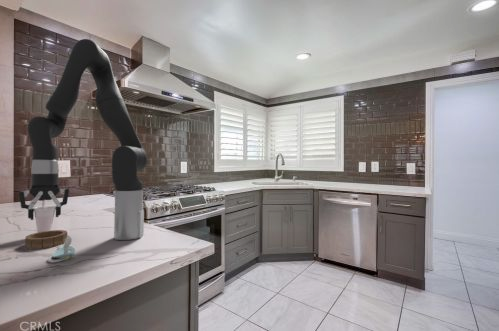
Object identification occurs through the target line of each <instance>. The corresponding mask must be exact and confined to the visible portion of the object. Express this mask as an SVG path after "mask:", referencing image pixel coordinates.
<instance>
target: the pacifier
mask: <svg viewBox="0 0 499 331" xmlns="http://www.w3.org/2000/svg"><path fill="white" fill-rule="evenodd" d="M71 244H72V237H71V236H70V235H67V237H66V240H65V243H64V244H63V247H61V248H58V249H57V250H55V251H54V253H53V254H52V255H50V256H49V257H48V258H46V259H47V262H48V263H52V264H53V263H54V264H55V263H60V262H62V261H67V260H69V259H70V258H71V257H72V256H75V251H76V250H75V248H74V247H73V246H70V245H71ZM54 258H56V259H54Z"/></svg>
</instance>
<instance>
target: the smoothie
mask: <svg viewBox="0 0 499 331" xmlns="http://www.w3.org/2000/svg"><path fill="white" fill-rule="evenodd" d="M41 202H42V204H41V206H36V207H33V209H34V218H35V219H34V220H35V226H36V231H37V232H36V233H38V232H44V231H52V230H53V225H54V218H55V214H56V205H45V200H43V201H41Z"/></svg>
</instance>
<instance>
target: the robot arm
mask: <svg viewBox="0 0 499 331" xmlns="http://www.w3.org/2000/svg"><path fill="white" fill-rule="evenodd" d="M112 68H113V67H112V64H111V60H110V57H109V56H108V54H107V53H106V52H105V51H104V50H103V49H102V48H101V47H100V46H99V45H98V44H97V43H96V42H95V41H93V40H91V39H88V38H83V39H80V40H78V41H76V42H75V44H74V45H73V48H72V49H71V51H70V54H69V58H68V61H67V62H66V65H65V68H64V71H63V72H62V75H61V77H60V81H59V83H58V84H57V86H56V88H55V90H54V91H53V93H52V94H51V96H49V99H48V101H47V102H46V104H45V109H46V110H47V111H48V114H47V117H45V116H41V115H40V116H33V117H32V118H31V119H30V120H29V121H28V124H27V134H28V136H29V137H28V138H29V141H30V145H31V146H32V160H31V161H32V162H31V167H30V168H31V169H30V172H31V177H30V178H31V181H30V182H31V183H30V184H31V185H30V189H29V190H20V191H18V194H19V202H20V208H21V209H27V218H28V219H30V221H33V220H34V218H35V212H34V209H33V208H35V207H34V206H36V204H37V203H38V202H39V201H40V202H42V201H43V200H44V201H51V200H52V202H53V203H54V204H55V206H56V209H55V218H58V217H59V216H61V215H62V207H63V206H65V205H67V204H68V198H69V194H70V193H69V192H70V190H69V189H68V188H60V187H59V172H60V170H59V169H60V168H59V161H58V160H59V158H58V157H59V152H58V151H59V148H58V147H57V145H56V144H54V143H53V141H52V139H55V138H58V137H59V136H60V135H62V133H63V132H64V129H65V128H66V123H67V121H68V116H69V114H70V113H71V111H72V110H73V108H74V106H75V105H76V104H77V101H78V98H79V94H80V85H81V80H82V77H83V74H84V72H85V71H86V70H88V71H89V72H90V74H91V76H92V79H93V81H94V83H95V86H96V92H95V105H96V107H97V110H98V112H99V115H100V117H101V120H102V121H103V122H104V124H106V126H107V127H108V128H109V130H110V131H111V132H112V133H113V134H114V135H115V137H116V138H117V140H118V141H119V144H120V146H118V147H116V149H114V152H113V153H112V157H111V175H112V176H111V178H112V183H113V185H114V218H113V219H114V222H113V224H114V227H113V228H114V229H113V239H114V240H115V241H116V240H117V241H131V240H136V239H141V238H142V236H143V235H144V234H145V233H144V232H145V231H144V228H145V227H144V225H145V219H144V218H145V217H144V216H145V209H144V201H143V200H144V199H143V198H144V183H143V181H141V180H139V177H138V173H137V172H140V171H143V170H144V169H145V168H146V167H147V164H148V155H147V152H146V150H145V148H144V146H143V144H142V143H141V141H140V139H139V137H138V134H137V132H136V130H135V126H134V125H133V122H132V118H131V117H130V114H129V112H128V108H127V105H126V103H125V101H124V98H123V96H122V94H121V90H120V89H119V87H118V84H117V82H116V80H115V76H114V72H113V69H112ZM60 193H61V195H63V196H62V201H61V202H60V201H59V200H58V199H57V197H56V196H57V195H58V194H60ZM28 194H30V195H31V196H32V197H33V198H32V200H31V201H30V203H29V204H26V198H27V197H28Z"/></svg>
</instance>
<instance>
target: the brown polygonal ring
mask: <svg viewBox="0 0 499 331" xmlns="http://www.w3.org/2000/svg"><path fill="white" fill-rule="evenodd" d="M67 236H68V231H67V230H64V229H62V230H61V229H58V230H56V229H55V230H54V229H52V231H44V232H35V233H31V234H28V235H26V236H25V239H24V240H25V241H24V243H25V246H24V247H25V249H29V250H42V249H47V248H54V247H57V246H60V245H64V243H65V240H66V237H67Z"/></svg>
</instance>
